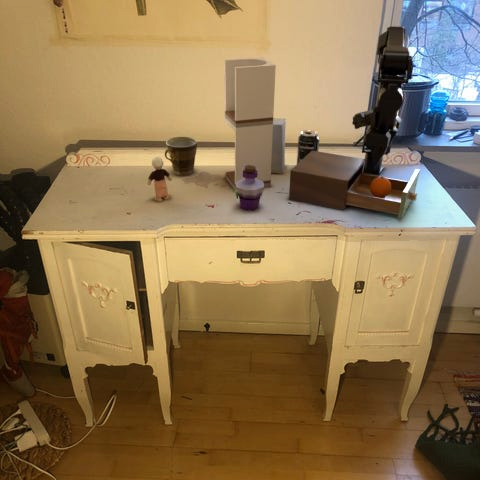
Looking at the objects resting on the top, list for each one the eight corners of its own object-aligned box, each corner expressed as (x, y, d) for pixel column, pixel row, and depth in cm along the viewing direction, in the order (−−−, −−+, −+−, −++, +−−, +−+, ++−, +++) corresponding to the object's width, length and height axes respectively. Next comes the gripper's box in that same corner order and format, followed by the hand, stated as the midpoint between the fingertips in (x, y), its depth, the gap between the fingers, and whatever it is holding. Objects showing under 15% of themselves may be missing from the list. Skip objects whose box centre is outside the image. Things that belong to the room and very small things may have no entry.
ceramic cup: (181, 164, 180) (180, 134, 174) (204, 170, 176) (203, 140, 169) (155, 175, 172) (152, 145, 166) (178, 183, 167) (176, 152, 161)
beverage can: (305, 163, 181) (308, 128, 174) (320, 169, 177) (324, 133, 170) (291, 168, 177) (294, 132, 170) (307, 174, 173) (310, 137, 166)
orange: (371, 191, 158) (374, 171, 154) (391, 195, 156) (395, 174, 152) (366, 199, 154) (369, 178, 150) (386, 203, 152) (390, 182, 148)
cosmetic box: (282, 174, 173) (284, 125, 164) (260, 172, 174) (262, 123, 165) (285, 165, 180) (288, 117, 170) (264, 163, 181) (266, 116, 171)
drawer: (359, 184, 165) (363, 160, 160) (420, 194, 159) (425, 170, 154) (342, 206, 152) (346, 181, 147) (407, 219, 145) (413, 193, 141)
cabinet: (309, 177, 171) (311, 150, 166) (360, 187, 165) (365, 159, 160) (288, 199, 158) (290, 170, 152) (343, 210, 152) (347, 180, 147)
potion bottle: (230, 203, 156) (229, 163, 148) (256, 198, 158) (257, 159, 151) (241, 215, 149) (242, 174, 142) (269, 210, 152) (270, 169, 145)
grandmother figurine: (166, 193, 161) (163, 152, 153) (174, 197, 159) (171, 155, 151) (146, 200, 157) (141, 159, 149) (154, 204, 154) (150, 162, 147)
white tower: (258, 174, 173) (262, 57, 152) (270, 186, 165) (275, 65, 144) (225, 178, 171) (224, 59, 149) (235, 190, 163) (236, 67, 141)
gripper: (366, 90, 148) (358, 145, 158) (348, 108, 135) (341, 167, 144) (406, 95, 145) (395, 151, 154) (392, 113, 131) (381, 173, 141)
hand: (378, 160), depth 149 cm, fingers open, 9 cm apart
